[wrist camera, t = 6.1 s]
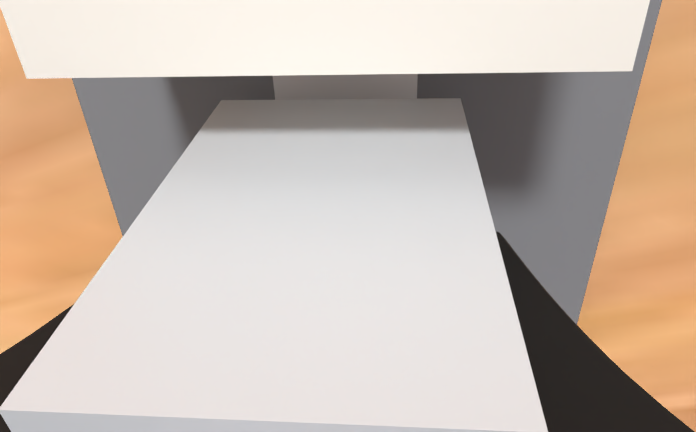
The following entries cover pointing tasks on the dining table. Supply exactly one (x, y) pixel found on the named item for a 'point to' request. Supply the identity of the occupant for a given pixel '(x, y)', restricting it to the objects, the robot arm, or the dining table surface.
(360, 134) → the block
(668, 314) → the dining table surface
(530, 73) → the rail board
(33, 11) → the mounted modules
